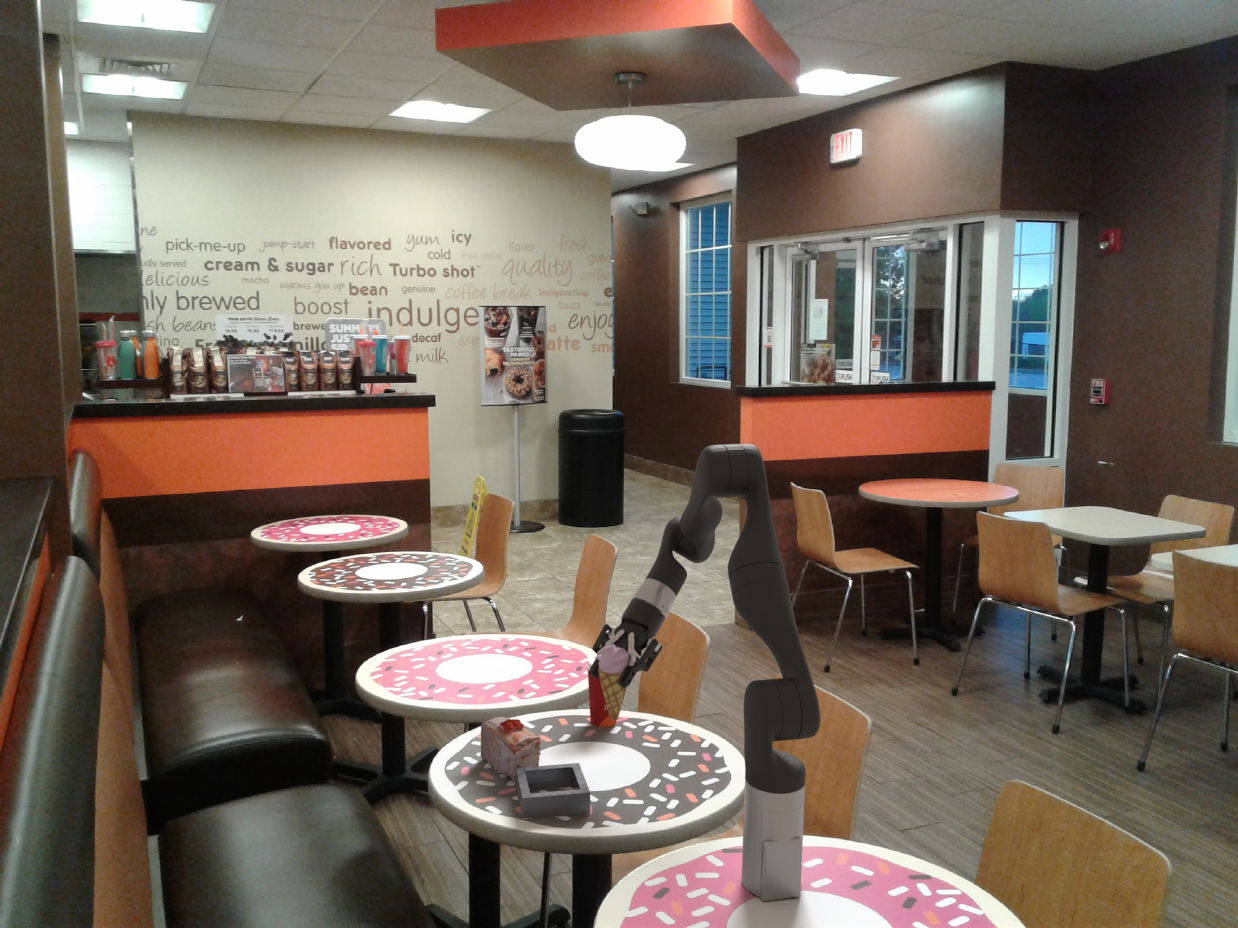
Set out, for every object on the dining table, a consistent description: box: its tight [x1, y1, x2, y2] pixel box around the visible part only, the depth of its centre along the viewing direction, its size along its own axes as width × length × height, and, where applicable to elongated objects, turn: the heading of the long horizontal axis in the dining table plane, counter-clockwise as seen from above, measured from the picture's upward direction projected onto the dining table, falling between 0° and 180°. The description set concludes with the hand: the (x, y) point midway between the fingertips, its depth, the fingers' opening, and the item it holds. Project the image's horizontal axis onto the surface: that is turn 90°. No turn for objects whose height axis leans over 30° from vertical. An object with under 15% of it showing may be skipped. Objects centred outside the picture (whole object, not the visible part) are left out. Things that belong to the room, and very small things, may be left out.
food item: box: [480, 716, 542, 780], centre depth 194 cm, size 14×8×10 cm, turn 40°
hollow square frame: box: [515, 762, 591, 819], centre depth 182 cm, size 12×12×4 cm
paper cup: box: [585, 656, 617, 728], centre depth 216 cm, size 8×8×14 cm
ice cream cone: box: [594, 645, 629, 722], centre depth 188 cm, size 7×6×15 cm
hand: (607, 680), depth 187 cm, fingers closed on ice cream cone, 6 cm apart
